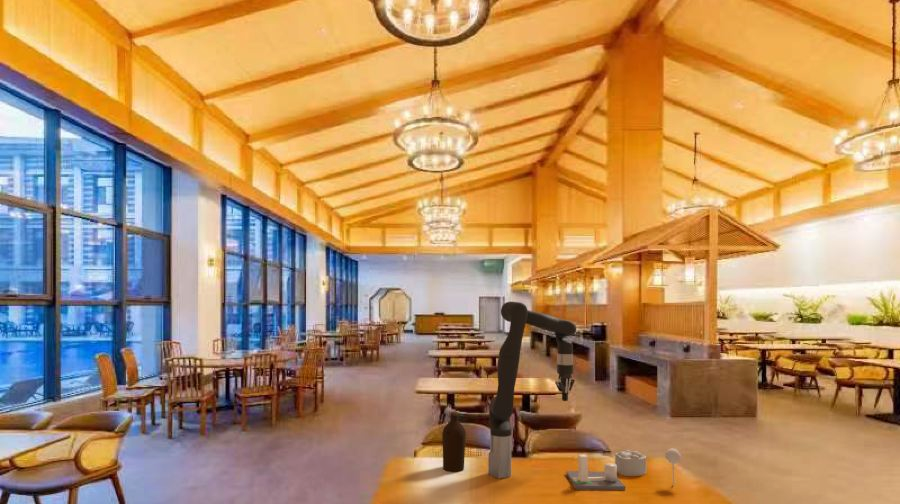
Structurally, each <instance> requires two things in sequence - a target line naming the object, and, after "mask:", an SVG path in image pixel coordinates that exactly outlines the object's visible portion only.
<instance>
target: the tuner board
mask: <svg viewBox="0 0 900 504" xmlns="http://www.w3.org/2000/svg"><path fill="white" fill-rule="evenodd" d="M565 475H566V477H567V478H568V480H569V481H570V483H571V484H572V486H573V487H574V489H575V490H579V491H580V490H581V491H583V490H584V491H587V490H589V491H590V490H591V491H595V490H598V491H626V485H624V483H623V482H622V481H621V480H620V479H619V478H618V477H617V481H615V482H610V481H606V480H591V481H592V482H593V483H576V482H575V481H574V480H573V478H578V470H566V471H565ZM588 477H604V471H599V470H598V471H596V470H595V471H591V470H590V471H589V470H588Z"/></svg>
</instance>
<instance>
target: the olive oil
mask: <svg viewBox="0 0 900 504" xmlns="http://www.w3.org/2000/svg"><path fill="white" fill-rule="evenodd" d="M441 435H442V438H441V439H442V469H443V470H444V471H446V472H450V473H458V472H463V471H464V470H465V453H466V441H467V440H466V439H467V433H466V428H465V427H464V425H463V424H462V423H461V422H460V421H459V412H458V411H455V410H453V411H450V421H448V422H447V423H446V425H445V426H444V427H443V429H442V433H441Z"/></svg>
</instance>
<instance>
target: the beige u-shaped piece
mask: <svg viewBox="0 0 900 504" xmlns="http://www.w3.org/2000/svg"><path fill="white" fill-rule="evenodd" d="M577 459H578V460H577V461H578V463H577V464H578V466H577V471H578V478H573V480H574V481H577V480H580V481H581V482H588V480H606V481H610V482H615V481H617V478H618V472H617V465H616V464H615V462H614V463H613V462H605V463H604V465H603V467H604V471H603V472H604V477H588V471H589V456H588V455H587V454H583V453H582V454H578V455H577Z"/></svg>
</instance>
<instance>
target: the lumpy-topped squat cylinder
mask: <svg viewBox="0 0 900 504" xmlns="http://www.w3.org/2000/svg"><path fill="white" fill-rule="evenodd" d="M614 456H615V457H614V459H615V460H614V464H616V465H617V471H618V472H617V473H618V474H619V473H620V474H619V475H622V476H625V477H626V476H627V477H639V476H640V477H641V476H644V474H645V475H646V474H647V456H646V455H645V454H644V453H640V452H639V451H636V450H635V451H634V450H633V451H631V450H629V449H625V450H624V451H622V450H620V451H618V452H615V455H614Z"/></svg>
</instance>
